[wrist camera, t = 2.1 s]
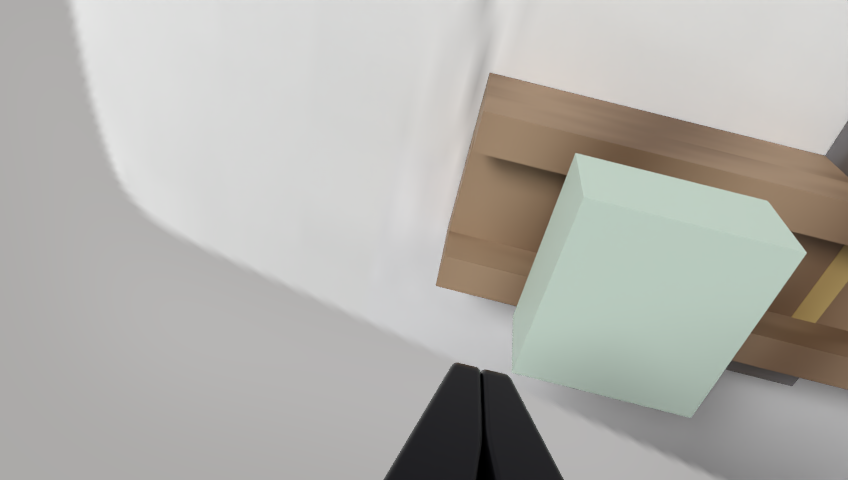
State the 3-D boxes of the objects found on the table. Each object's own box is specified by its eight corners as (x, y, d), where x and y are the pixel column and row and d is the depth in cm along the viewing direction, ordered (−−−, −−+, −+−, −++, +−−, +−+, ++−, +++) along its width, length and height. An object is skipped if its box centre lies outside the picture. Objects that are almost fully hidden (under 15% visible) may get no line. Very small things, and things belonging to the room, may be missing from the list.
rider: (742, 167, 16) (806, 252, 13) (658, 314, 19) (690, 418, 16) (570, 124, 16) (583, 197, 13) (513, 278, 19) (511, 372, 16)
